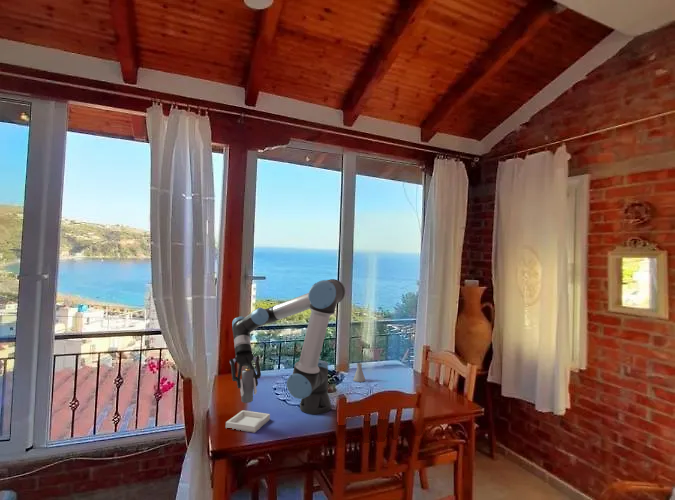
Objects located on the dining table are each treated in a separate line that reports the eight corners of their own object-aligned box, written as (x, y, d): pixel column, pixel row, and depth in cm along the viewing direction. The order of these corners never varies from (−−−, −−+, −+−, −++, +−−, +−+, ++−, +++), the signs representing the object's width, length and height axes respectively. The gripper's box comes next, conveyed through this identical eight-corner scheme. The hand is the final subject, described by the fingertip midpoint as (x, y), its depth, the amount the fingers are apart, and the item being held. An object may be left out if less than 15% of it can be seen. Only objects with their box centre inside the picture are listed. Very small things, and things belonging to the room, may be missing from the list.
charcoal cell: (255, 399, 180) (255, 367, 180) (249, 403, 175) (249, 371, 175) (245, 397, 181) (245, 366, 181) (239, 401, 177) (239, 369, 177)
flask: (361, 383, 234) (361, 366, 234) (350, 381, 238) (351, 364, 238) (367, 379, 240) (367, 363, 240) (356, 377, 244) (357, 361, 244)
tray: (269, 419, 183) (269, 414, 183) (254, 432, 169) (254, 426, 169) (242, 415, 187) (242, 410, 187) (225, 428, 173) (225, 422, 173)
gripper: (260, 349, 196) (267, 395, 181) (222, 353, 189) (226, 400, 174) (263, 341, 191) (270, 387, 176) (224, 344, 184) (228, 392, 169)
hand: (248, 393), depth 175 cm, fingers closed on charcoal cell, 5 cm apart
